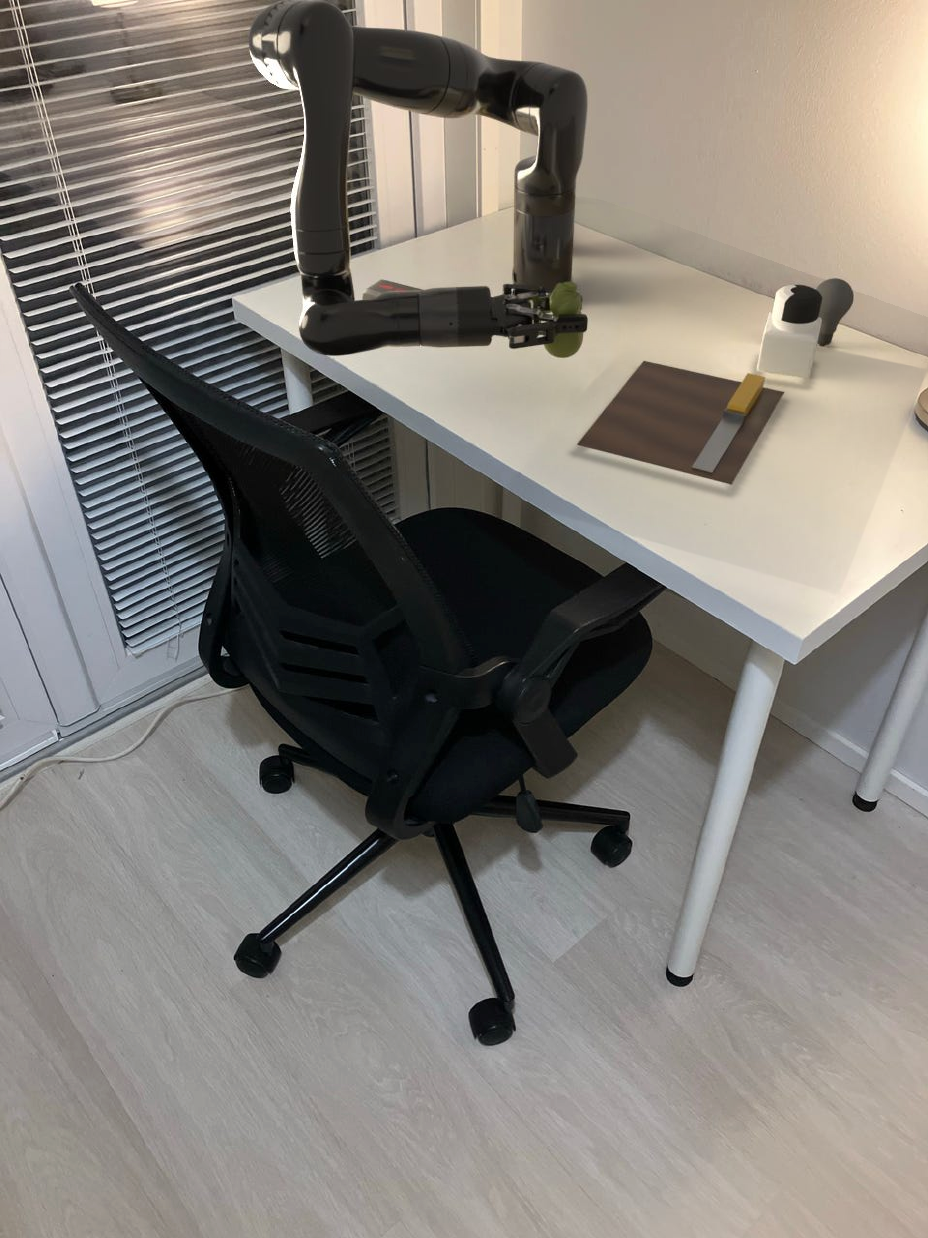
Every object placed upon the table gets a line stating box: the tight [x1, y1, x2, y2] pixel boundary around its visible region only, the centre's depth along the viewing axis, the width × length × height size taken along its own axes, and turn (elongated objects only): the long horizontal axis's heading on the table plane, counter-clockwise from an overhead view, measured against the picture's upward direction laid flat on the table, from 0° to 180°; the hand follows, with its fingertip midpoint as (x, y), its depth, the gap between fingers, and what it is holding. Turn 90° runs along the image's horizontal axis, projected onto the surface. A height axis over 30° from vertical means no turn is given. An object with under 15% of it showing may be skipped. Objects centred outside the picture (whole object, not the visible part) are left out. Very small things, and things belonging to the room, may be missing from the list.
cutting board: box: [576, 360, 785, 485], centre depth 137 cm, size 24×20×2 cm
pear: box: [542, 281, 584, 359], centre depth 138 cm, size 6×5×10 cm
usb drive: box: [361, 279, 424, 300], centre depth 165 cm, size 5×12×3 cm, turn 58°
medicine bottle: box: [756, 284, 822, 379], centre depth 144 cm, size 7×7×12 cm
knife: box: [692, 372, 766, 474], centre depth 134 cm, size 22×3×2 cm, turn 152°
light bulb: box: [815, 277, 855, 347], centre depth 150 cm, size 6×6×10 cm
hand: (583, 312), depth 137 cm, fingers closed on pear, 5 cm apart
